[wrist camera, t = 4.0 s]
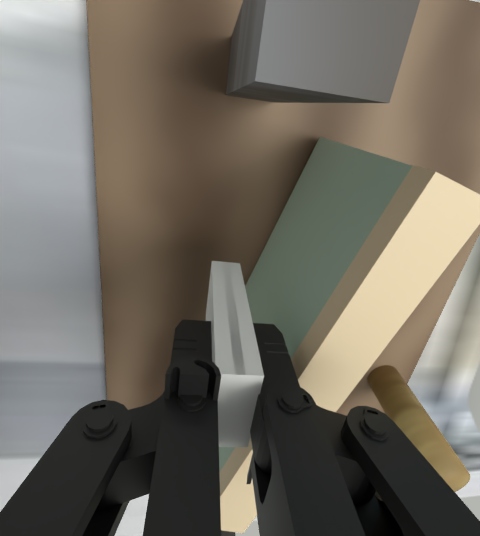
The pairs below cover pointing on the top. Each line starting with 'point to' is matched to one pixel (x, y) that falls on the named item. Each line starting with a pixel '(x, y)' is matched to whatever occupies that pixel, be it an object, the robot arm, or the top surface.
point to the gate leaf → (346, 277)
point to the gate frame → (264, 157)
